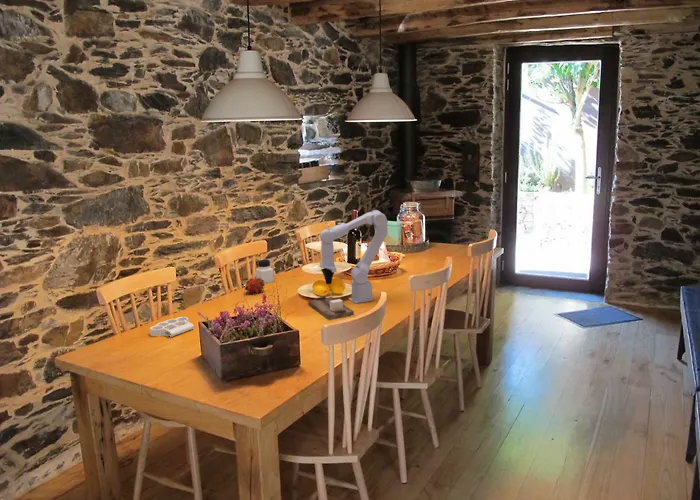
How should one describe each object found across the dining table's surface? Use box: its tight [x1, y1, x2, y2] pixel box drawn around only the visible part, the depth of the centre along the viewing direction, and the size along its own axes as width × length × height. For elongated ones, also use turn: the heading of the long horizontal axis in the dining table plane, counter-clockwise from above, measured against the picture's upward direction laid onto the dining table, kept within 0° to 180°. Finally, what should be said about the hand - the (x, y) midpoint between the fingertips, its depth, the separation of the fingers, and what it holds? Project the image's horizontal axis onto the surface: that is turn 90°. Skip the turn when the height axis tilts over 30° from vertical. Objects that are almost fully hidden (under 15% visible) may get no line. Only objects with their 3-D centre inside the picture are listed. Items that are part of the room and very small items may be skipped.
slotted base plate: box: [307, 295, 355, 321], centre depth 276 cm, size 12×24×3 cm, turn 26°
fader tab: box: [330, 298, 344, 311], centre depth 269 cm, size 5×3×4 cm, turn 116°
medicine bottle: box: [255, 258, 275, 285], centre depth 324 cm, size 7×7×12 cm
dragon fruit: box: [244, 276, 266, 295], centre depth 305 cm, size 8×8×12 cm
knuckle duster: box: [149, 316, 195, 338], centre depth 256 cm, size 3×18×15 cm
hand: (328, 283), depth 284 cm, fingers closed
